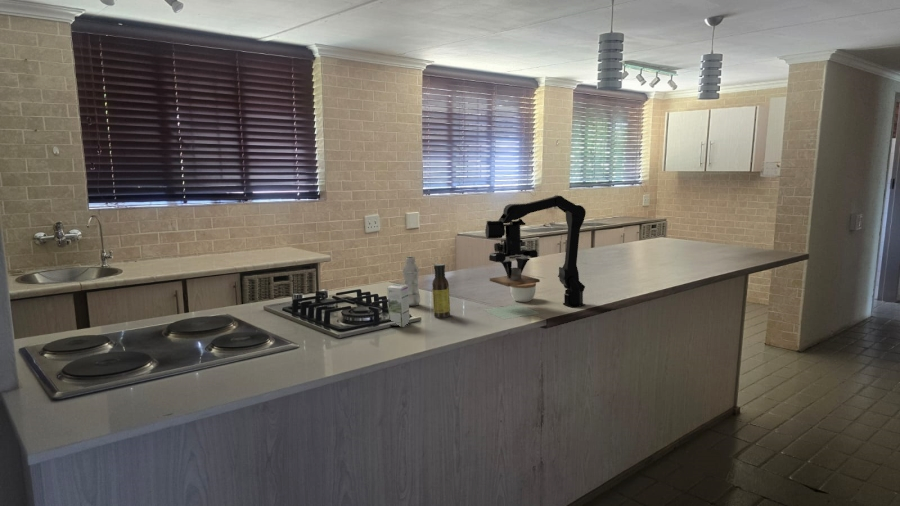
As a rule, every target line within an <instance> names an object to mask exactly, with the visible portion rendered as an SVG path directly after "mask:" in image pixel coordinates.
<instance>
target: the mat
mask: <svg viewBox="0 0 900 506" xmlns="http://www.w3.org/2000/svg"><path fill="white" fill-rule="evenodd" d="M483 312H487V314H488V313H489V314H490V315H493V316H494V317H498V318H500V319H502V320H506V319H512V318H513V319H514V318H518V317H527V316H533V315H540V311H539V312H538V311H535V310H534V309H533V310H532V309H530V308H529V307H525V306H524V305H520V304H515V305H509V306H508V305H507V306H501V307H495V308H494V307H493V308H488V309H487V308H486V309H483Z"/></svg>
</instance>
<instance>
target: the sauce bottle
mask: <svg viewBox="0 0 900 506" xmlns="http://www.w3.org/2000/svg"><path fill="white" fill-rule="evenodd" d="M445 268H446V265H445V264H444V263H437V264H434V265H433V269H434V278H433V280H432V283H431V284H432V289H431V290H432V305H433V307H432V308H433V317H434V318H435V319H436V318H437V319H442V318H448V317H449V316H451V313H450V311H451V305H450V304H451V302H450V301H451V300H450V285H449V280H448V279H447V278H446V271H445V270H446V269H445Z"/></svg>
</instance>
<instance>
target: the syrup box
mask: <svg viewBox="0 0 900 506" xmlns="http://www.w3.org/2000/svg"><path fill="white" fill-rule="evenodd" d="M386 289H387V290H386V291H387V305H388V308H387V310H388V321H389V320H391V321H394V322H395V323H396V324H397V325H399V326H400V327H399V328H404V327H406V326H407V325H406V324H408V322H409V320H410V319H411V317H410V316H411V315H410V306H409V295H408V285H405V284H391V285H389V286H387V288H386ZM405 325H406V326H405ZM408 325H409V324H408Z"/></svg>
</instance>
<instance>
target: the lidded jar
mask: <svg viewBox="0 0 900 506" xmlns="http://www.w3.org/2000/svg"><path fill="white" fill-rule="evenodd" d="M536 285H537V283H530V284H523V285H516V286H509V288H510V289H509V291H510V295H511V297H512V299H513V300H514V301H515V302H519V303H526V302H527V303H528V302H530V301H532V300H533V298H534V297H535V295H536V290H537V289H536V287H537V286H536Z"/></svg>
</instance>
